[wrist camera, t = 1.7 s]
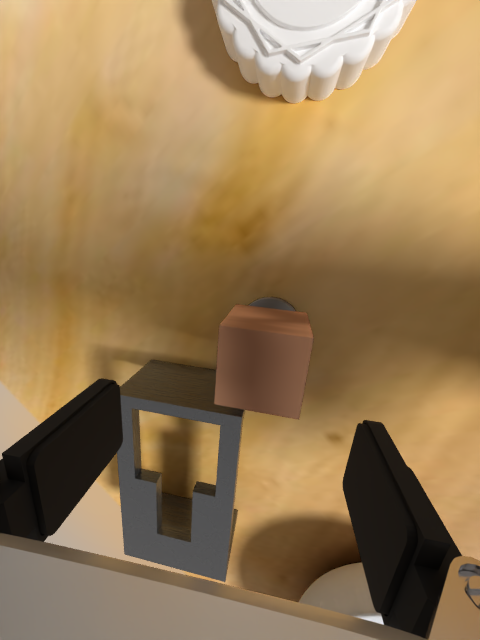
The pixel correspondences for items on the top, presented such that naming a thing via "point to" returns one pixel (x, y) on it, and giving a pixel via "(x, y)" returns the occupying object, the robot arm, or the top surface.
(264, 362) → the keyhole peg
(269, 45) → the mooncake
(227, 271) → the top surface
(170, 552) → the keyhole bracket
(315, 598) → the serving bowl
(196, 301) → the top surface
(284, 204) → the top surface
